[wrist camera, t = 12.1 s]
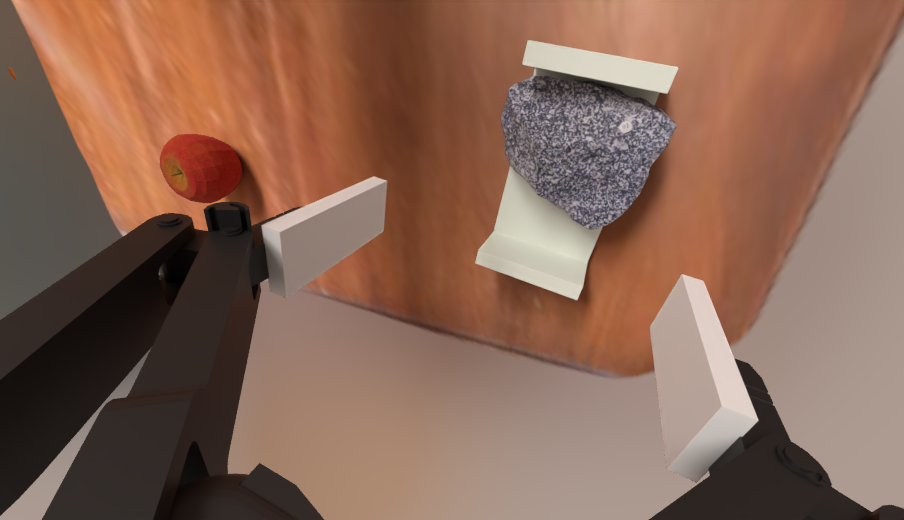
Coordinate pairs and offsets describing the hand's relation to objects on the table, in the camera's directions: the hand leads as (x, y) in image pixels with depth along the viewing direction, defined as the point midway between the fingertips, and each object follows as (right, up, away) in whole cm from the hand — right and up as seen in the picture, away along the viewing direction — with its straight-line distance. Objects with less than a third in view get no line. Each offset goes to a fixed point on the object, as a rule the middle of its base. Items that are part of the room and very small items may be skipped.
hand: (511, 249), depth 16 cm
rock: (+7, +9, +13) cm, 17 cm away
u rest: (+7, +7, +15) cm, 18 cm away
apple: (-31, +12, +30) cm, 45 cm away
